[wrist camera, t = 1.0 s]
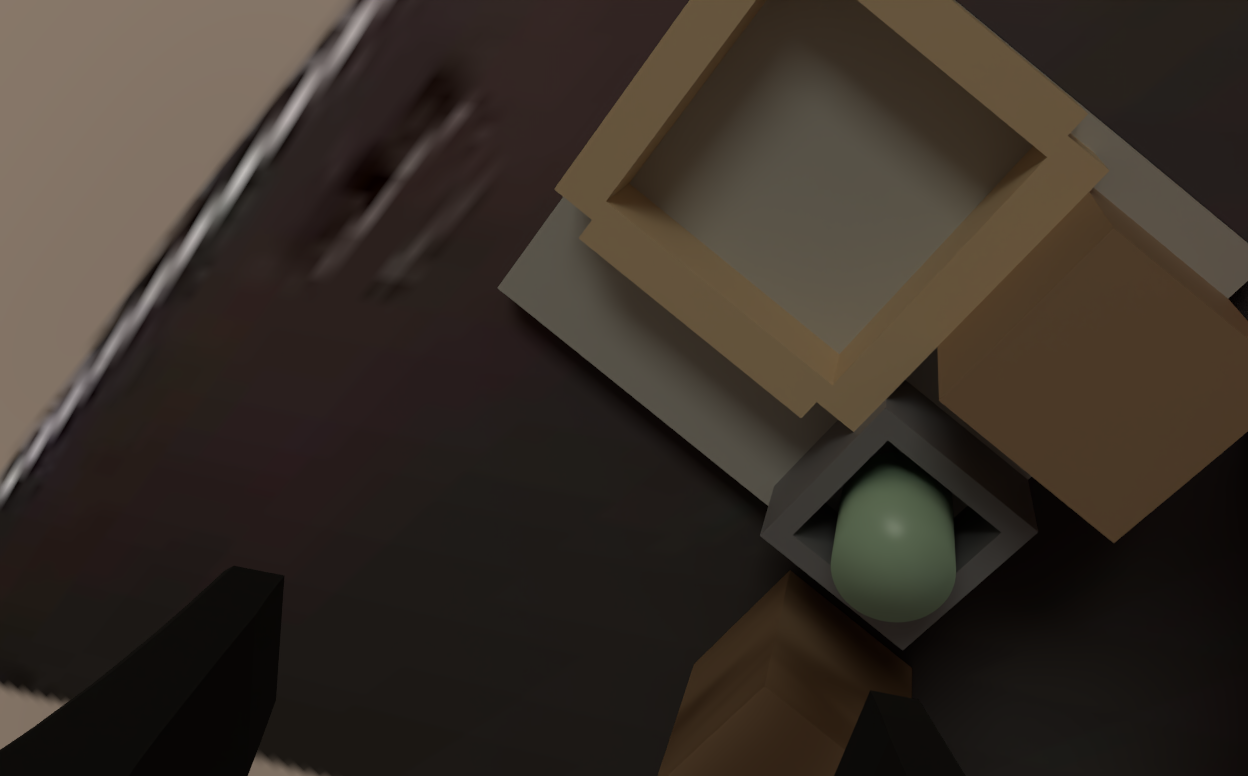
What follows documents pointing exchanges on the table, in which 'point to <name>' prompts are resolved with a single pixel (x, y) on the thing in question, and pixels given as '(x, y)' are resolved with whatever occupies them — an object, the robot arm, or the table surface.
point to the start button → (894, 540)
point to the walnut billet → (781, 690)
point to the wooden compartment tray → (894, 276)
